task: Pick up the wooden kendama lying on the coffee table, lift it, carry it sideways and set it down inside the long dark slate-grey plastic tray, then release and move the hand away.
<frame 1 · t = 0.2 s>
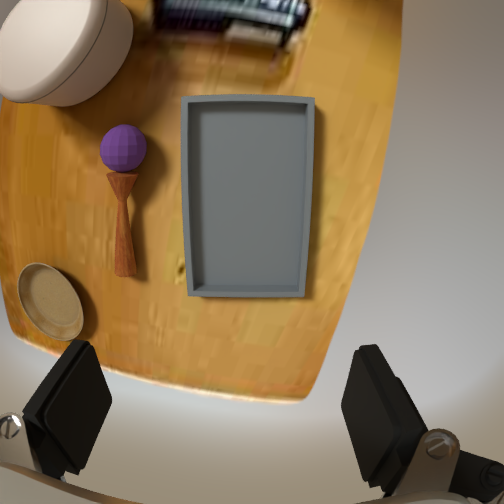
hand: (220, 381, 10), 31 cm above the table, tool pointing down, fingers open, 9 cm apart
container: (82, 50, 30), on the table
tray: (246, 197, 38), on the table
kendama: (129, 199, 38), on the table
plant saucer: (55, 296, 43), on the table
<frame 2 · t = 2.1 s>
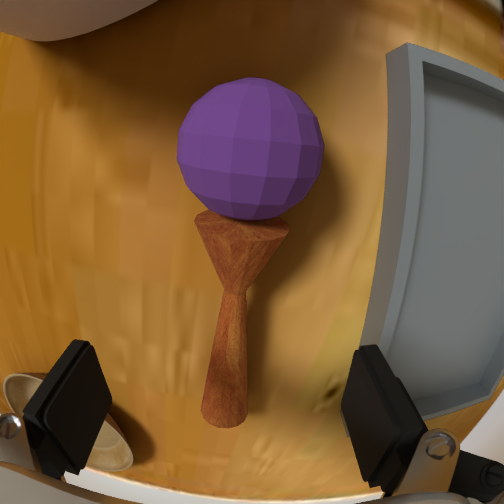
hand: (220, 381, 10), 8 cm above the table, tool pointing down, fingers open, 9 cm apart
tray: (467, 269, 17), on the table
kendama: (237, 272, 17), on the table
plant saucer: (72, 411, 23), on the table
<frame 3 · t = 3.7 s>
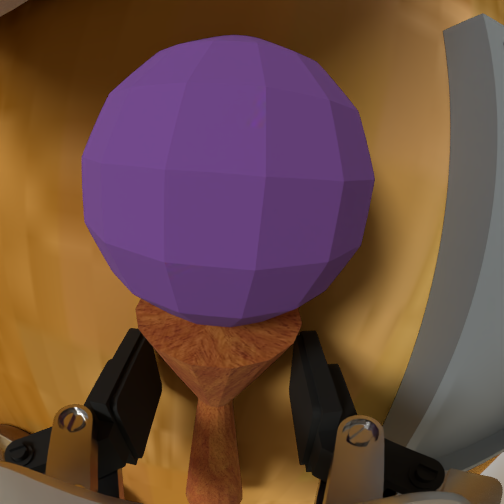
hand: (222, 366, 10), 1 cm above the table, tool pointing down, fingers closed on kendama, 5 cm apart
kendama: (220, 353, 12), on the table, touching gripper
plant saucer: (50, 462, 17), on the table
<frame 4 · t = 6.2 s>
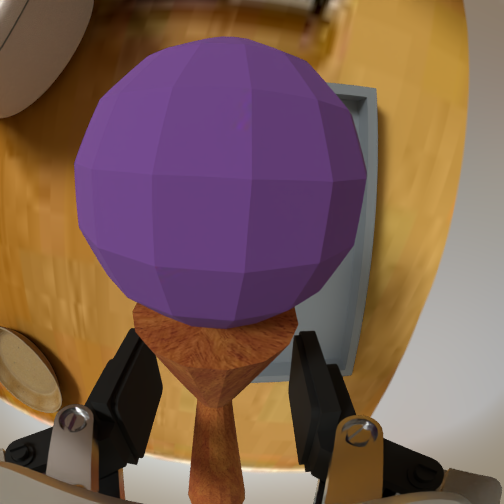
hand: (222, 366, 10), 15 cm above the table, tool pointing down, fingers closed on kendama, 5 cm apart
container: (30, 39, 18), on the table
tray: (272, 243, 25), on the table
kendama: (220, 353, 12), point 14 cm above the table, touching gripper
plant saucer: (27, 361, 30), on the table
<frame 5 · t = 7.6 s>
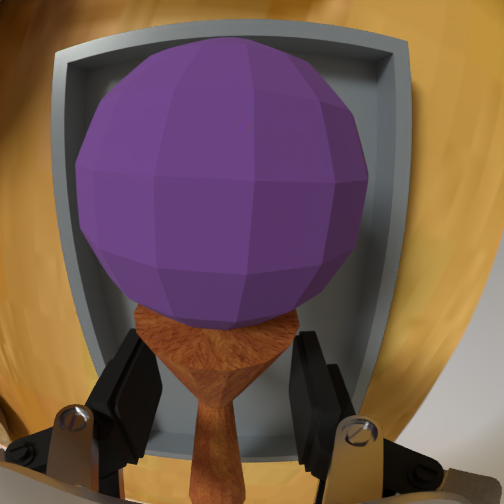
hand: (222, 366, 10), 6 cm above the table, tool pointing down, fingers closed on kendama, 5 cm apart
tray: (229, 292, 16), on the table
kendama: (220, 354, 12), point 5 cm above the table, touching gripper
when the fingers open (2 cm above the table, at t = 8.6 s): kendama drops 1 cm, resting on tray.
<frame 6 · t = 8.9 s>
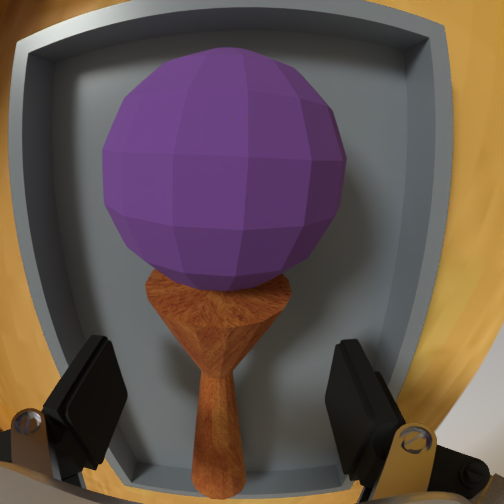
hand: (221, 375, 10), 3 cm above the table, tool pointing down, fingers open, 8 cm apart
tray: (226, 327, 13), on the table
kendama: (222, 333, 13), resting on tray
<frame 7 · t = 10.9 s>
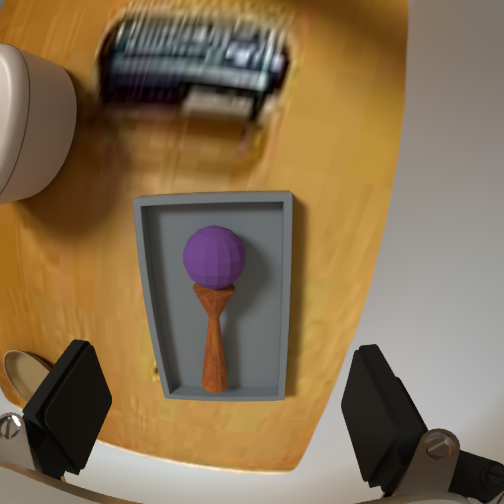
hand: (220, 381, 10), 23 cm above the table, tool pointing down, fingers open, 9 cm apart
container: (30, 128, 28), on the table
tray: (218, 305, 34), on the table
kendama: (216, 307, 34), resting on tray
plant saucer: (41, 377, 39), on the table
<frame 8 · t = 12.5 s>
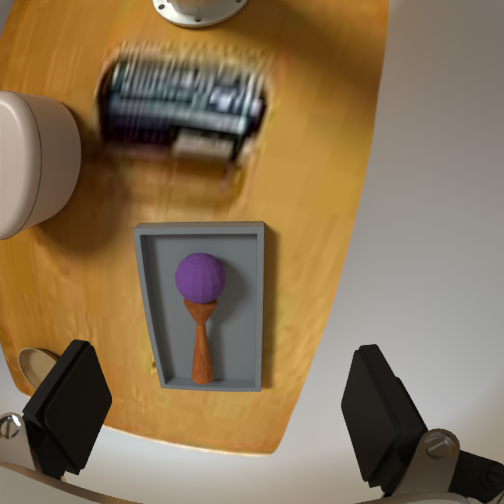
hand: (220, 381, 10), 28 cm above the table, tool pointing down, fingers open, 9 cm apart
container: (39, 158, 33), on the table
tray: (205, 313, 41), on the table
kendama: (203, 315, 41), resting on tray
plant saucer: (52, 370, 46), on the table
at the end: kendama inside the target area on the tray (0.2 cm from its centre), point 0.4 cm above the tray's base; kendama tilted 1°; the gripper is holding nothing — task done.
